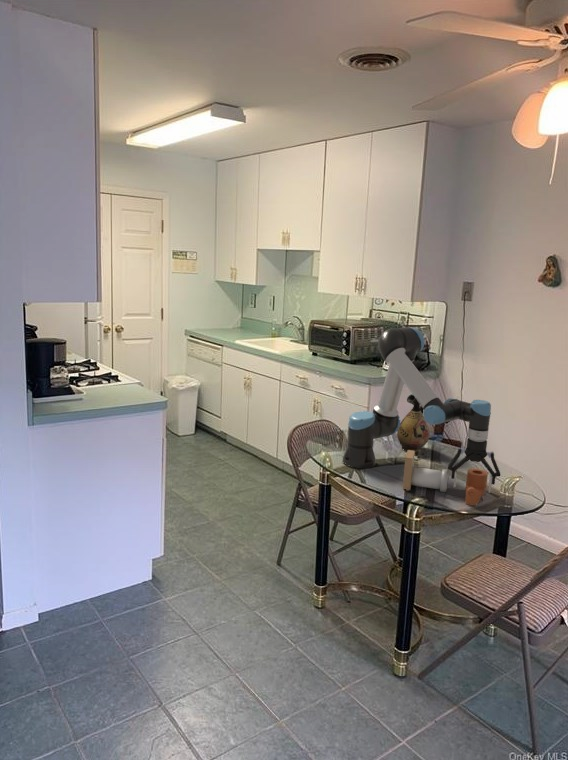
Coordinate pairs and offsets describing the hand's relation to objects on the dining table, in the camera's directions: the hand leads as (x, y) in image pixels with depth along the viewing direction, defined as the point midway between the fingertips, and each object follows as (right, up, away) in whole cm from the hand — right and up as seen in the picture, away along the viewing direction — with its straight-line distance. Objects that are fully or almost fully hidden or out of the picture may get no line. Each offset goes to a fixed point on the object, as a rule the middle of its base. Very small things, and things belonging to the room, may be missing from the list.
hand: (471, 488), depth 234 cm
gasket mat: (-2, -2, +1) cm, 4 cm away
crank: (-2, +2, 0) cm, 3 cm away
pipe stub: (-18, -1, +6) cm, 19 cm away
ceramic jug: (-12, +9, +54) cm, 56 cm away
